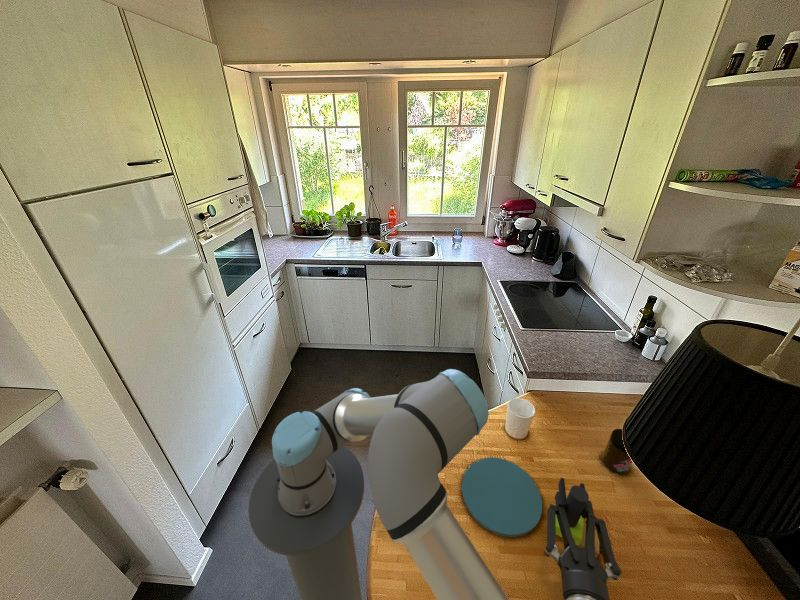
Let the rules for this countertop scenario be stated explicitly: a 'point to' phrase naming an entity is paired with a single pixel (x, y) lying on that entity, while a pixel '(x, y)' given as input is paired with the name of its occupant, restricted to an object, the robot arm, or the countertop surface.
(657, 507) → the countertop surface
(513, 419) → the white cup
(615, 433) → the supplement container
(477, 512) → the plate
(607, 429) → the countertop surface
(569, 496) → the sponge wand
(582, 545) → the brown rectangular block
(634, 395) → the countertop surface
